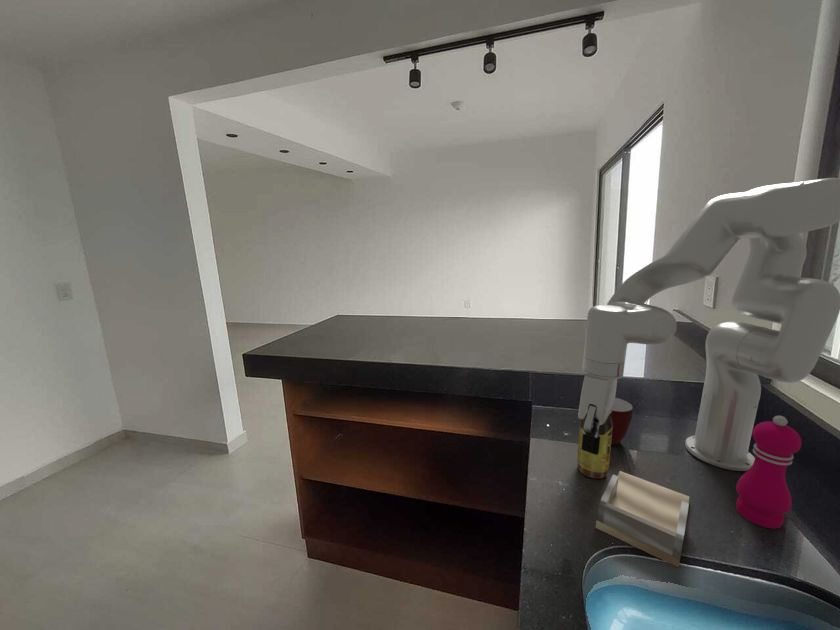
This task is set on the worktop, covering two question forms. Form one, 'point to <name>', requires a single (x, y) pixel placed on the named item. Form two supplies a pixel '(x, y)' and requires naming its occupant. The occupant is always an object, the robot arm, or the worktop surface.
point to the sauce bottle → (598, 463)
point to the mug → (620, 419)
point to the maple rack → (644, 516)
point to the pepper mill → (768, 474)
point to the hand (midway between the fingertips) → (594, 443)
